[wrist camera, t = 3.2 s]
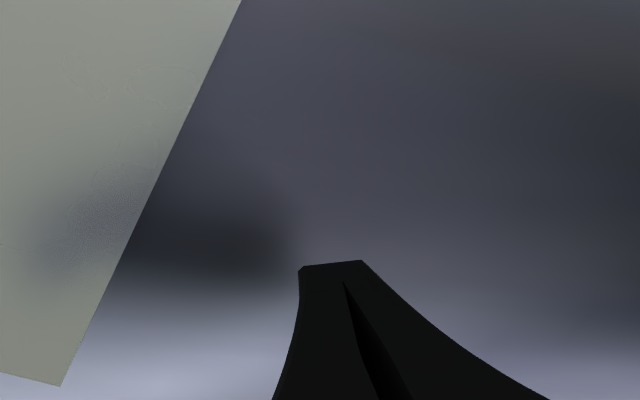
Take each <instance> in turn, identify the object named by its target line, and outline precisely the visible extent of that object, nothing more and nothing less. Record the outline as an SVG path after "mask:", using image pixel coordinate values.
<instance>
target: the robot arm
mask: <svg viewBox="0 0 640 400" xmlns="http://www.w3.org/2000/svg"><path fill="white" fill-rule="evenodd" d="M298 280H299V307H298V312H297V318H296V323H295V328H294V333H293V337H292V340H291V344H290V347H289V351H288V354H287V358H286V361H285V364H284V367H283V370H282V373H281V376H280V379H279V382H278V384H277V387H276V390H275V392H274V395H273V397H272V400H549V399H548V398H546V397H544V396H542V395H540V394H538V393H536V392H535V391H533V390H531V389H529V388H527V387H525V386H523V385H522V384H520V383H518V382H516V381H515V380H513V379H511V378H510V377H508V376H506V375H505V374H503V373H501V372H500V371H498V370H497V369H495V368H493V367H492V366H490V365H489V364H487V363H486V362H484V361H483V360H481V359H479V358H478V357H476V356H475V355H473V354H472V353H470V352H469V351H467V350H466V349H465V348H463V347H462V346H460V345H459V344H457V343H456V342H455V341H453V340H452V339H451V338H450V337H448V336H447V335H446V334H444V333H443V332H442V331H440V330H439V329H438V328H436V327H435V326H434V325H433V324H431V323H430V322H429V321H428V320H427V319H425V318H424V317H423V316H422V315H421V314H420V313H418V312H417V311H416V310H415V309H414V308H413V307H412V306H410V305H409V304H408V303H407V302H406V301H405V300H404V299H402V298H401V297H400V296H399V295H398V294H397V293H396V292H395V291H394V290H393V289H392V288H391V287H390V286H388V285H387V284H386V283H385V282H384V281H383V280H382V279H381V278H380V277H379V276H378V275H377V274H376V273H375V272H374V271H373V270H372V269H371V268H370V267H369V266H368V265H367V264H366V263H364V262H363V261H362V260H354V261H345V262H336V263H327V264H318V265H309V266H303V267H302V268H301V269H300V270H299V271H298Z"/></svg>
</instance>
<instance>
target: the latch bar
mask: <svg viewBox="0 0 640 400" xmlns="http://www.w3.org/2000/svg"><path fill="white" fill-rule="evenodd" d="M240 2H241V0H0V372H3V373H7V374H11V375H15V376H19V377H23V378H27V379H31V380H35V381H39V382H43V383H47V384H51V385H55V386H59V387H60V385H61V383H62V381H63V379H64V377H65V375H66V373H67V370H68V368H69V366H70V364H71V362H72V360H73V358H74V355H75V353H76V351H77V349H78V347H79V345H80V343H81V341H82V338H83V336H84V334H85V332H86V330H87V328H88V326H89V324H90V321H91V319H92V317H93V315H94V313H95V311H96V309H97V307H98V304H99V302H100V300H101V298H102V296H103V294H104V292H105V289H106V287H107V285H108V283H109V281H110V279H111V277H112V275H113V272H114V270H115V268H116V266H117V264H118V262H119V260H120V258H121V255H122V253H123V251H124V249H125V247H126V245H127V243H128V241H129V238H130V236H131V234H132V232H133V230H134V228H135V226H136V223H137V221H138V219H139V217H140V215H141V213H142V211H143V209H144V206H145V204H146V202H147V200H148V198H149V196H150V194H151V192H152V189H153V187H154V185H155V183H156V181H157V179H158V177H159V175H160V172H161V170H162V168H163V166H164V164H165V162H166V160H167V157H168V155H169V153H170V151H171V149H172V147H173V145H174V143H175V140H176V138H177V136H178V134H179V132H180V130H181V128H182V126H183V123H184V121H185V119H186V117H187V115H188V113H189V111H190V109H191V106H192V104H193V102H194V100H195V98H196V96H197V94H198V91H199V89H200V87H201V85H202V83H203V81H204V79H205V77H206V74H207V72H208V70H209V68H210V66H211V64H212V62H213V60H214V57H215V55H216V53H217V51H218V49H219V47H220V45H221V43H222V40H223V38H224V36H225V34H226V32H227V30H228V28H229V25H230V23H231V21H232V19H233V17H234V15H235V13H236V11H237V8H238V6H239V4H240Z"/></svg>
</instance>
